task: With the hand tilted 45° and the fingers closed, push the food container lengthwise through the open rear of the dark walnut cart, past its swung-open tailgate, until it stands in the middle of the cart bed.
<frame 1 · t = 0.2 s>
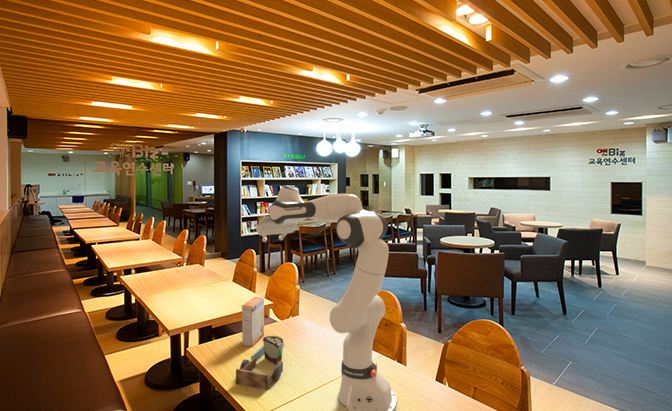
hand: (272, 240, 175), 54 cm above the table, tool tilted 30°, fingers open, 8 cm apart
food container: (276, 360, 167), on the table
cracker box: (253, 340, 186), on the table
cart bed: (260, 376, 152), on the table
tailgate: (259, 353, 168), point 2 cm above the table, hinge at 90.0°
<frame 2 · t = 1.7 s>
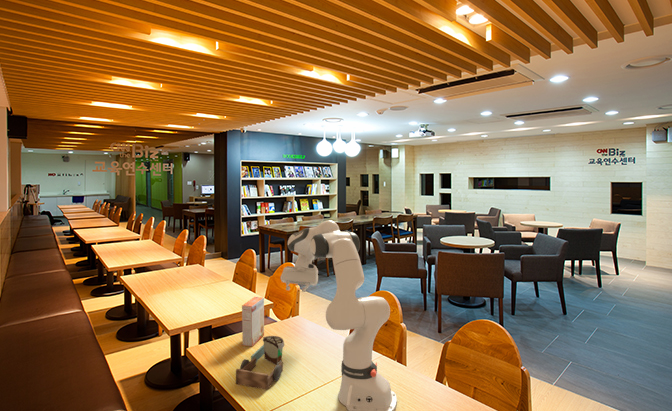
hand: (295, 290, 187), 26 cm above the table, tool tilted 45°, fingers open, 8 cm apart
nothing on the table moved.
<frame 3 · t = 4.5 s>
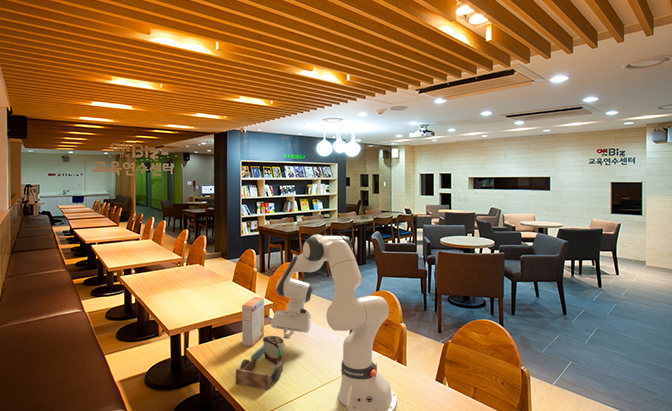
hand: (286, 338, 177), 5 cm above the table, tool tilted 45°, fingers closed
nothing on the table moved.
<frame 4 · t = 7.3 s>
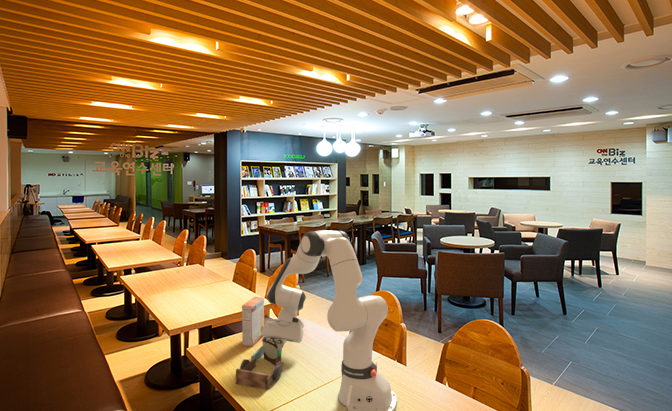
hand: (277, 348, 167), 5 cm above the table, tool tilted 45°, fingers closed
food container: (275, 361, 166), on the table, touching gripper
everything else where it was.
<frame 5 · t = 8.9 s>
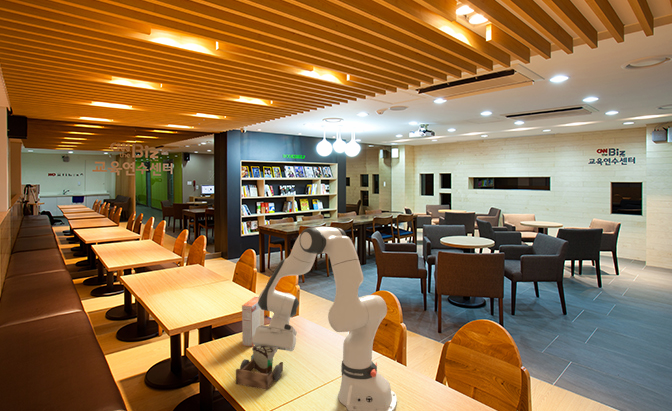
hand: (268, 357, 159), 5 cm above the table, tool tilted 45°, fingers closed
food container: (266, 370, 158), on the table, touching gripper
everything else where it was.
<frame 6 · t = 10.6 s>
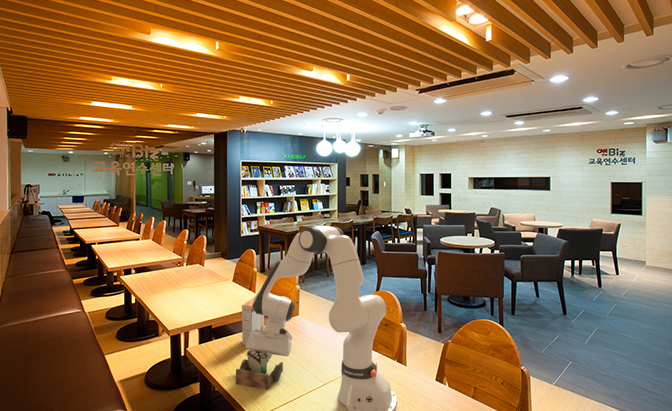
hand: (263, 363, 154), 5 cm above the table, tool tilted 45°, fingers closed
food container: (260, 376, 152), on the table, touching cart bed, gripper
everything else where it was.
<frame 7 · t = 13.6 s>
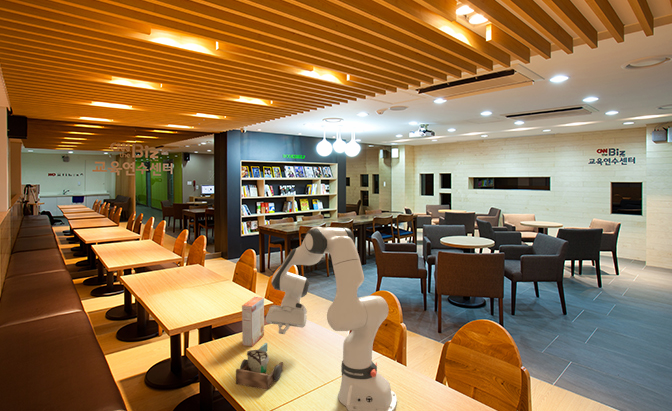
hand: (281, 333, 171), 10 cm above the table, tool tilted 45°, fingers closed
food container: (260, 377, 152), on the table
everything else where it was.
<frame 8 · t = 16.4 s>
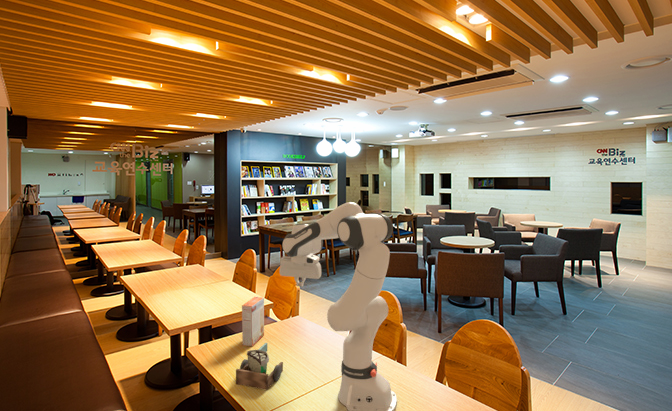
hand: (300, 286, 171), 33 cm above the table, tool pointing down, fingers closed
nothing on the table moved.
at the end: food container inside the target area on the cart bed (1.6 cm from its centre), point 0.0 cm above the cart bed's base; food container tilted 0°; food container moved 14.9 cm from its start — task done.
